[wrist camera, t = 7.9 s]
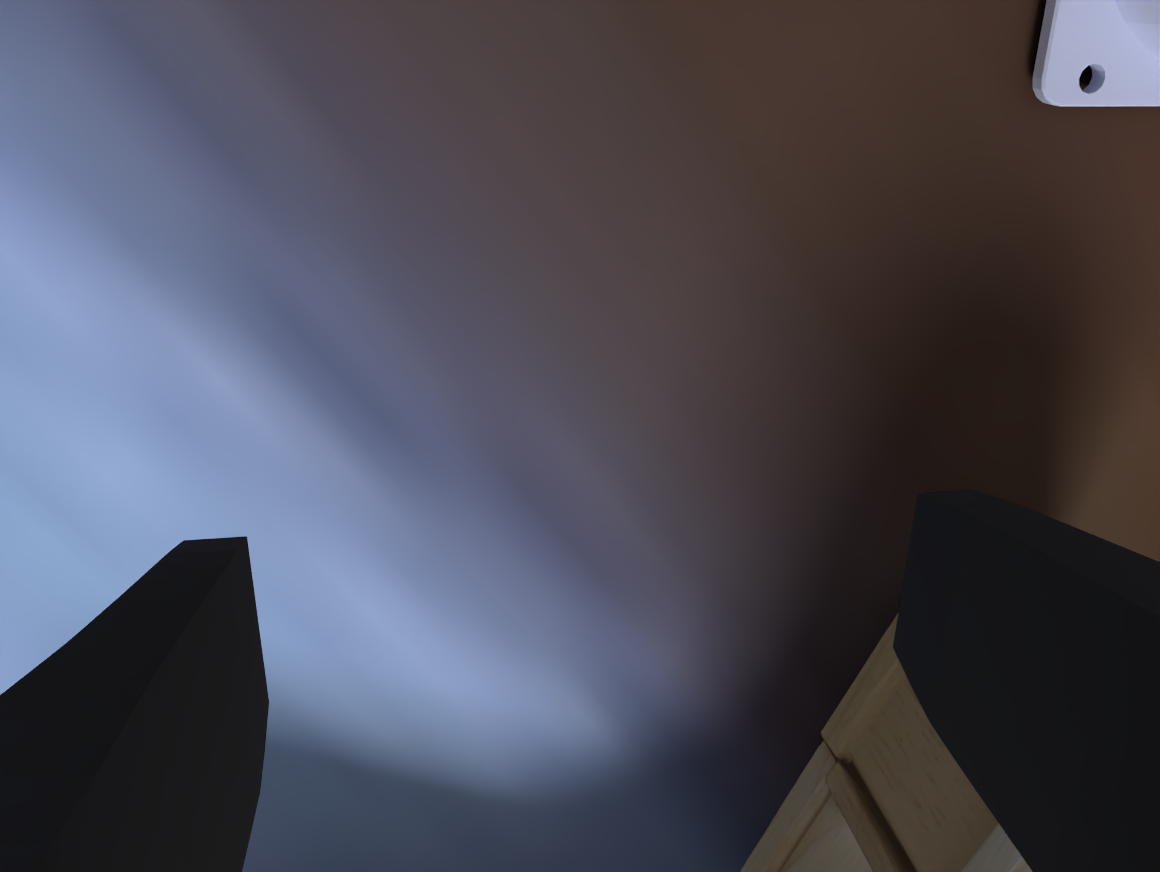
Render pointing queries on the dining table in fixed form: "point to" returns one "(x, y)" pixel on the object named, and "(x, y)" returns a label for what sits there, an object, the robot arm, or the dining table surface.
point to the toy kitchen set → (883, 792)
